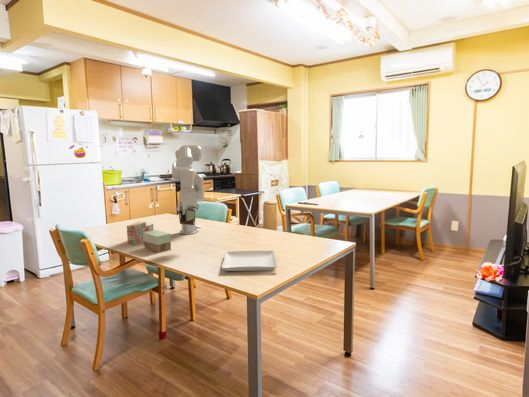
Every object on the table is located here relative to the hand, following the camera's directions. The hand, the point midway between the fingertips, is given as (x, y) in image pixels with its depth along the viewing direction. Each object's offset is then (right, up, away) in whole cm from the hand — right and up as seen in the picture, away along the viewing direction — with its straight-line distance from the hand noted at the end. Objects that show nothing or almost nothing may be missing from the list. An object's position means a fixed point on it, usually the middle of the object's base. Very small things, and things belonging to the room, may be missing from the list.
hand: (188, 219), depth 199 cm
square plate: (+37, -22, -24) cm, 50 cm away
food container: (0, -2, +1) cm, 3 cm away
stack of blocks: (-37, -15, +25) cm, 47 cm away
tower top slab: (-20, -13, +4) cm, 24 cm away
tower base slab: (-20, -18, +5) cm, 27 cm away
